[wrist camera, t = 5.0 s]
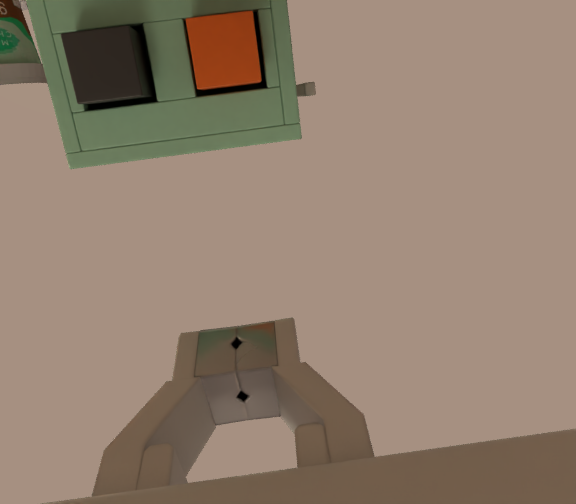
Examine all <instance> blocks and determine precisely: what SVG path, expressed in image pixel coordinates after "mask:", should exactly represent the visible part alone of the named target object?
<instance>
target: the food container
mask: <svg viewBox="0 0 576 504" xmlns="http://www.w3.org/2000/svg"><path fill="white" fill-rule="evenodd" d="M18 83H47V79H46V75H45V71H44V68H43V64H41V61H40V58H39V56H38V53H37V50H36V48H35V45H34V42H33V39H32V37H31V34H30V31H29V29H28V26H27V23H26V20H25V18H24V15H23V12H22V10H21V7H20V4H19V1H18V0H0V85H4V84H18ZM47 84H48V83H47Z"/></svg>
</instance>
